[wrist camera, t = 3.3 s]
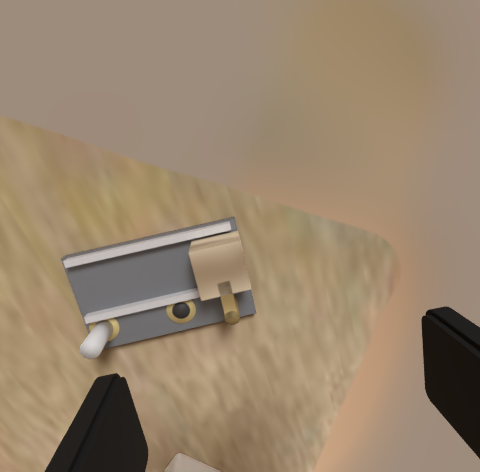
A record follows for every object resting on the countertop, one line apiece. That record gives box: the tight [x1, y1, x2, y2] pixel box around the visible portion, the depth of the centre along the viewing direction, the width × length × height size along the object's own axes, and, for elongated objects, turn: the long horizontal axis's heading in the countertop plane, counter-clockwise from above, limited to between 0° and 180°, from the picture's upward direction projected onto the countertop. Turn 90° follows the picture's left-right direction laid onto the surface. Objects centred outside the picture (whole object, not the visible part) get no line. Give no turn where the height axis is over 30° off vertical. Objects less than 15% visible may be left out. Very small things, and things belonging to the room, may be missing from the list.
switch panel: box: [61, 217, 256, 359], centre depth 28 cm, size 9×15×4 cm, turn 102°
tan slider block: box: [188, 231, 252, 325], centre depth 27 cm, size 7×4×4 cm, turn 12°
